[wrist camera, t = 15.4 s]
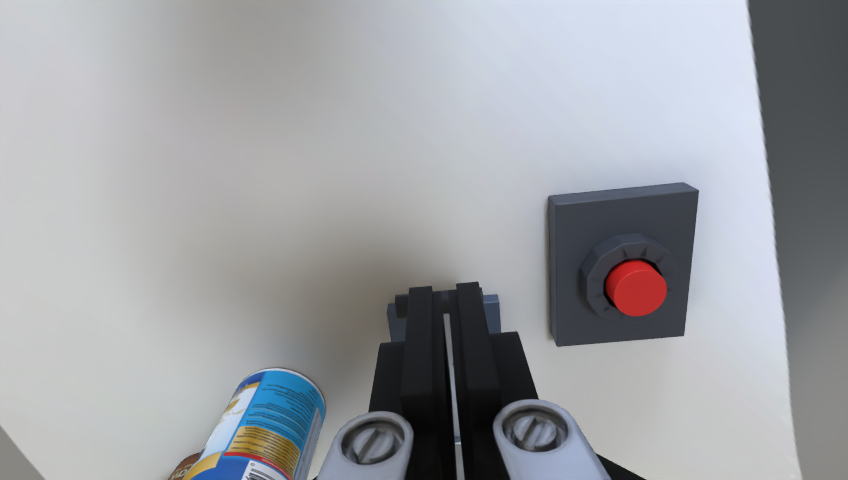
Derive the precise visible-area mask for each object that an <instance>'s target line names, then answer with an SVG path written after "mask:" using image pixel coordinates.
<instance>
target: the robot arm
mask: <svg viewBox="0 0 848 480" xmlns="http://www.w3.org/2000/svg"><path fill="white" fill-rule="evenodd" d="M456 289H457V290H448V298H449V312H450V325H451V338H452V352H453V365H454V378H455V391H456V402H457V411H458V421H459V431H460V440H461V450H462V460H463V469H464V479H465V480H646V479H644V478H642V477H640V476H638V475H636V474H634V473H632V472H631V471H629V470H627V469H625V468H623V467H621V466H619V465H617V464H615V463H613V462H612V461H610V460H608V459H606V458H604V457H602V456H600V455H598V454H596V453H595V452H594V451H593V449H592V447H591V446H590V444H589V442H588V441H587V439H586V437H585V436H584V434H583V433H582V431H581V429H580V428H579V426H578V424H577V423H576V421H575V420H574V418H573V417H572V416H571V415H570V414H569V413H568V412H567V411H566V410H565V409H563V408H561V407H560V406H558V405H556V404H554V403H551V402H548V401H544V400H539V398H538V395H537V392H536V389H535V386H534V382H533V379H532V376H531V373H530V370H529V366H528V363H527V360H526V357H525V353H524V350H523V347H522V344H521V341H520V337H519V335H518V332H517V331H515V332H504V333H492V334H489V331H488V326H487V321H486V316H485V312H484V307H483V302H482V297H481V292H480V288H479V283H478V282H470V283H459V284H456ZM313 480H457V467H456V452H455V436H454V420H453V405H452V391H451V380H450V371H449V361H448V352H447V343H446V333H445V324H444V315H443V305H442V296H441V291H435V292H433V291H432V286H426V287H415V288H409V298H408V310H407V322H406V334H405V341H400V342H388V343H381V344H380V347H379V352H378V358H377V364H376V370H375V376H374V382H373V387H372V393H371V399H370V405H369V411H368V413H366V414H362V415H359V416H357V417H356V418H354V419H352V420H350V421H348V422H347V423H346V424H345V425H344V426H343V427H342V428H341V429H340V430H339V431H338V433H337V435H336V436H335V438H334V440H333V442H332V444H331V447H330V449H329V451H328V454H327V456H326V458H325V460H324V463H323V465H322V467H321V470H320V472H319V474H318V476H317V477H315V478H314V479H313Z"/></svg>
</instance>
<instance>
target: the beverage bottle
mask: <svg viewBox="0 0 848 480" xmlns="http://www.w3.org/2000/svg"><path fill="white" fill-rule="evenodd" d="M324 418H325V403H324V399H323V396H322V394H321V392H320V391H319V389H318V388H317V387H316V385H315V384H314V383H313V382H312V381H310V380H309V379H308V378H306V377H305V376H303V375H301V374H299V373H297V372H294V371H291V370H287V369H281V368H271V369H264V370H260V371H258V372H255V373H253V374H251V375H250V376H248V377H247V378H246V379H244V380H243V381H242V382H241V384H240V385H239V386H238V388H237V389H236V391H235V393H234V395H233V397H232V399H231V402H230V404H229V405H228V407H227V409H226V410H225V412H224V414H223V416H222V417H221V419H220V421H219V422H218V424H217V426H216V428H215V429H214V431H213V433H212V435H211V436H210V438H209V440H208V441H207V443H206V445H205V447H204V448H203V450H202V452H201V453H200V455H199V457H198V459H197V460H196V462H195V464H194V465H193V466H192V467H191V468H190V469H189V470H188V472H187V473H186V475H185V476H184V478H183V480H307V476H308V472H309V469H310V465H311V461H312V458H313V454H314V451H315V447H316V444H317V440H318V437H319V433H320V430H321V427H322V425H323V421H324Z"/></svg>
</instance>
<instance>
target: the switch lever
mask: <svg viewBox="0 0 848 480" xmlns="http://www.w3.org/2000/svg"><path fill="white" fill-rule="evenodd" d="M479 288H480V292H481V297H482V302H483V307H484V301H483V293H482V288H481V287H479ZM456 290H457V289H456ZM434 292H435V291H434ZM441 296H442V305H443V315H444V324H445V333H446V343H447V352H448V361H449V371H450V380H451V391H452V405H453V420H454V436H455V452H456V467H457V480H465V479H464V469H463V460H462V450H461V440H460V431H459V421H458V411H457V402H456V391H455V378H454V365H453V352H452V338H451V327H450V317H449V315H450V312H449V298H448V290H445V291H441ZM408 298H409V294H401V295H396V296H395V310H396V316H397V319H407V310H408Z"/></svg>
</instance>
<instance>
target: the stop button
mask: <svg viewBox="0 0 848 480" xmlns="http://www.w3.org/2000/svg"><path fill="white" fill-rule="evenodd" d="M606 291H607V294H608V295H609V297H610V298H611V300H612V301H613V302H614V304H615V305H616V306H617V308H618V309H619V310H620V311H621V312H623V313H624V314H627V315H630V316H643V315H647V314H649V313H651V312H653V311H655V310H656V309H657V308H658V307H659V306H660V305H661V304H662V303H663V301H664V299H665V297H666V293H667V286H666V282H665V280H664V279H663V277H662V276H661V275H660V274H659V273H658V272H657V271H656V270H655V269H654V268H653V267H652V266H650V265H649V264H648V263H646V262H644V261H641V260H628V261H625V262H622V263H620V264H618V265H617V266H616V267H614V268H613V269H612V270H611V272H610V273H609V275H608V277H607V280H606Z"/></svg>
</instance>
